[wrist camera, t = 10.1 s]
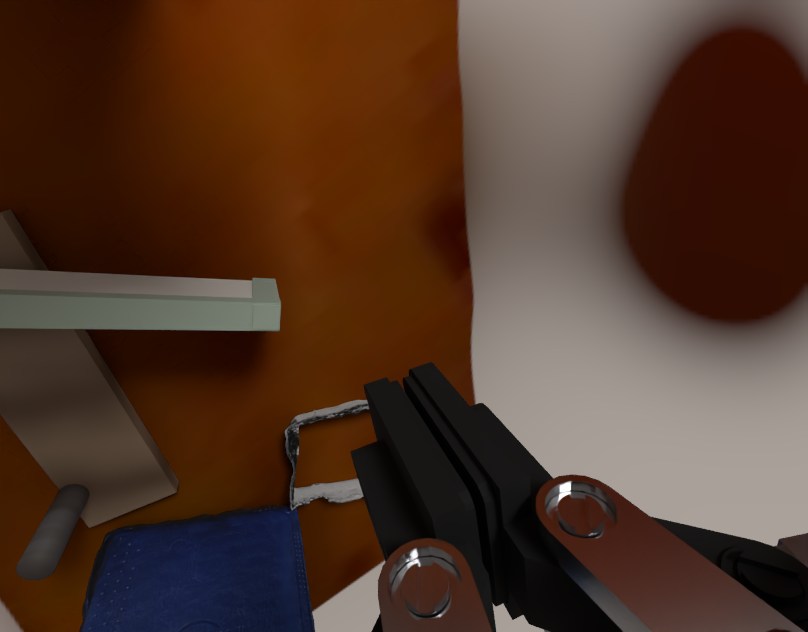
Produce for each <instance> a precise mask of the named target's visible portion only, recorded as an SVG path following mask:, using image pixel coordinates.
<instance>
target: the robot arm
mask: <svg viewBox="0 0 808 632" xmlns="http://www.w3.org/2000/svg"><path fill="white" fill-rule="evenodd" d="M403 385H404V390H405V391H404V390H403V388H402V387H401V385H400V384H399V382H398V381H397V380H396V381H393V382H389V380H388V379H387V378H383V379H380V380H377V381H374V382H371V383H368V384H365V385H364V390H365V394H366V398H367V402H368V406H369V410H370V414H371V418H372V422H373V426H374V430H375V434H376V438H377V442H374V443H372V444H369V445H366V446H364V447H361V448H358V449H356V450H353V451H351V456H352V459H353V463H354V466H355V470H356V473H357V477H358V480H359V483H360V487H361V490H362V493H363V496H364V499H365V502H366V506H367V509H368V512H369V515H370V517H371V520H372V523H373V526H374V529H375V532H376V535H377V538H378V541H379V544H380V547H381V550H382V553H383V555H384V558H385V561H386V562H385V564H384V565H383V567H382V570H381V573H380V576H379V580H378V599H379V606H380V615H379V618H378V619H377V621H376V624H375V626H374V628H373V630H372V632H496V627H495V619H494V611H493V604H494V605H495V606H498V605H500V604H502V603H504V605H505V607H506V609H507V611H508V612H509V614H510V616H511V618H512V620H514V619H515V618H517V617H519V616H521V615H524V616H525V618H526V620H527V621H528V623H529V624H531V625H533V626H536V627H539V628H542V629H544V631H545V632H808V533H806V534H802V535H796V536H792V537H787V538H782V539H779V541H778V545H777V546H774V547H773V546H770V545H767V544H764V543H761V542H758V541H755V540H750V539H746V538H741V537H737V536H733V535H728V534H724V533H720V532H715V531H711V530H706V529H702V528H697V527H693V526H689V525H684V524H680V523H676V522H671V521H667V520H662V519H658V518H654V517H650V516H648V515H647V514H646V513H644V512H643V511H642V510H640V509H639V508H638V507H636V506H635V505H634V504H632V503H631V502H630V501H628V500H627V499H625V498H624V497H623V496H622V495H620V494H619V493H618V492H616V491H615V490H613V489H612V488H611V487H609V486H607V485H606V484H604V483H602V482H601V481H599V480H596V479H593V478H590V477H587V476H580V475H565V476H558V477H556V478H554V479H553V478H552V477H551V476H550V474H549V473H548V472H547V471H546V470H545V469H544V468H543V467H542V466H541V465H540V464H539V463H538V461H537V460H536V459H535V458H534V457H533V456H532V455H531V454H530V453H529V452H528V451H527V450H526V448H525V447H524V446H523V445H522V444H521V443H520V442H519V441H518V440H517V439H516V438H515V436H514V435H513V434H512V433H511V432H510V431H509V430H508V429H507V428H506V427H505V426H504V425H503V423H502V422H501V421H500V420H499V419H498V418H497V417H496V416H495V415H494V414H493V413H492V411H490V409H489V408H488V407H487V406H486V405H484V404H483V403H479V404H476V405H473V406H469V405H468V404H467V402H466V401H465V400H464V399H463V398H462V397H461V395H460V394H459V393H458V392H457V391H456V390H455V388H454V387H453V386H452V385H451V384H450V383H449V381H448V380H447V379H446V378H445V377H444V376H443V374H442V373H441V372H440V371H439V370H438V369H437V367H436V366H435V365H434V364H433V363H432V362H430V363H427V364H424V365H421V366H418V367H415V368H412V369H410V370H409V376H408V377H405V378H403Z"/></svg>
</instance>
